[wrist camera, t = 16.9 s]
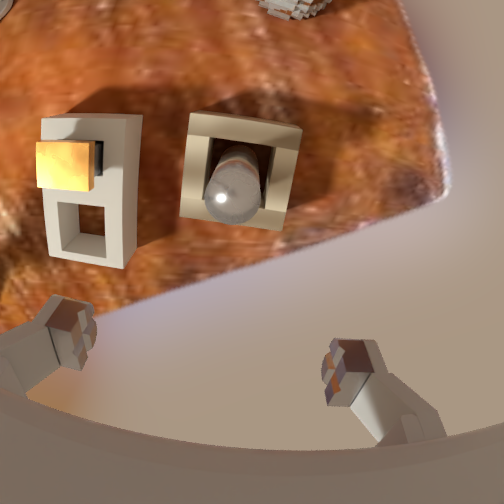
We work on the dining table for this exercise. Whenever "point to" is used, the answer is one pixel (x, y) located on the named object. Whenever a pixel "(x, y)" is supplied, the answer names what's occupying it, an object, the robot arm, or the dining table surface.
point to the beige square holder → (246, 130)
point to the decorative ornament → (293, 7)
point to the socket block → (97, 190)
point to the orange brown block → (68, 163)
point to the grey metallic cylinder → (234, 186)
